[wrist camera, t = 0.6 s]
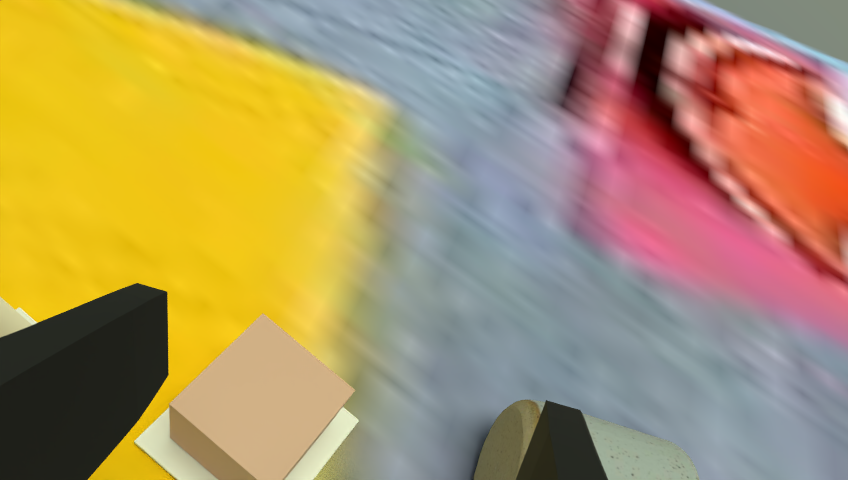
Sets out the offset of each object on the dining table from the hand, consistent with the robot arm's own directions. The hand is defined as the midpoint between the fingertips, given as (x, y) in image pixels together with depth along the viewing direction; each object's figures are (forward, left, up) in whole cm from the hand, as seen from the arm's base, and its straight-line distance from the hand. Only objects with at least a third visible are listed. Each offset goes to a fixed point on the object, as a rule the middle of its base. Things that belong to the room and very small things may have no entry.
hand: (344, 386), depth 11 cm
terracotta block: (+3, +2, -18) cm, 19 cm away
